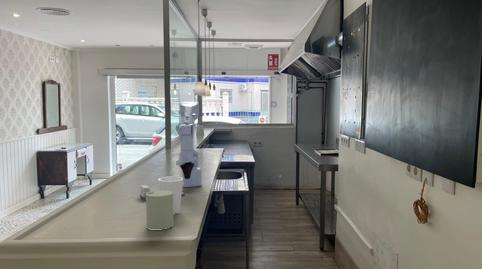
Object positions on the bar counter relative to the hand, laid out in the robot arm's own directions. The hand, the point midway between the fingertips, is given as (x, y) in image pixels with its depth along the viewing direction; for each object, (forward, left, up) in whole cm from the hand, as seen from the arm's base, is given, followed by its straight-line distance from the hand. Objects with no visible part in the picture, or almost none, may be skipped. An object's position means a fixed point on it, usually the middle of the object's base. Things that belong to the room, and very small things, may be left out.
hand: (187, 178), depth 168 cm
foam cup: (+16, +27, -7) cm, 32 cm away
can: (+24, +41, -7) cm, 48 cm away
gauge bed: (+12, 0, -7) cm, 14 cm away
